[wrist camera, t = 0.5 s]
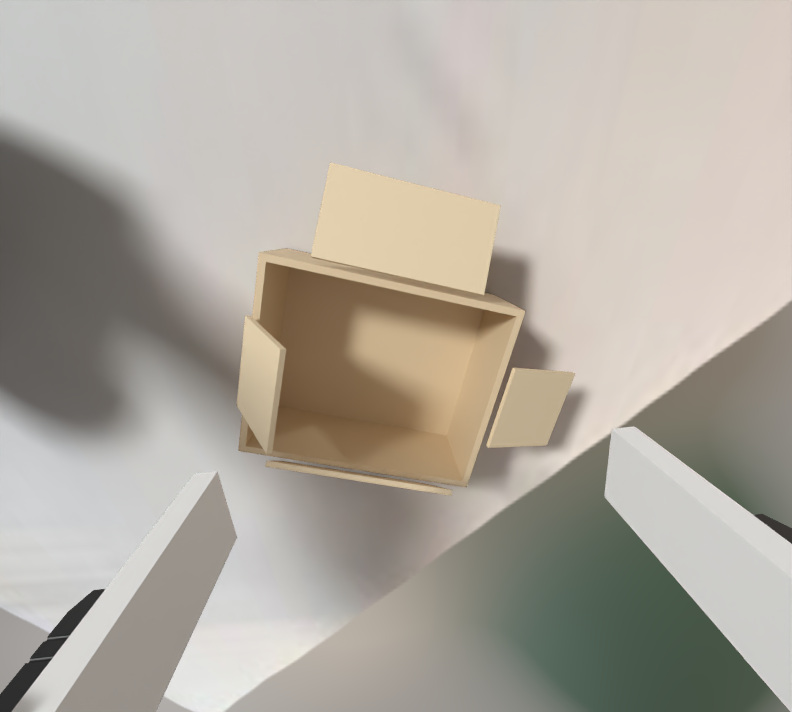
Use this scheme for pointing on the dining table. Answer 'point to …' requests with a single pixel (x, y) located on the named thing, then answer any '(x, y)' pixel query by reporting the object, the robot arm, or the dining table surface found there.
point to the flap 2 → (405, 230)
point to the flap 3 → (357, 477)
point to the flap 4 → (529, 407)
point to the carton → (380, 368)
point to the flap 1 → (260, 381)
